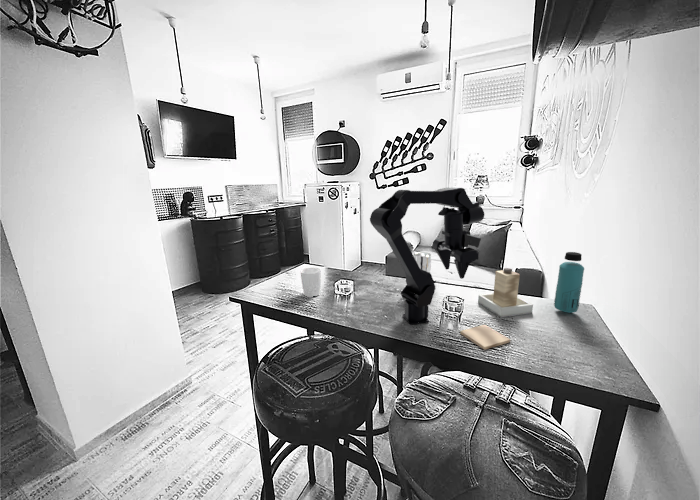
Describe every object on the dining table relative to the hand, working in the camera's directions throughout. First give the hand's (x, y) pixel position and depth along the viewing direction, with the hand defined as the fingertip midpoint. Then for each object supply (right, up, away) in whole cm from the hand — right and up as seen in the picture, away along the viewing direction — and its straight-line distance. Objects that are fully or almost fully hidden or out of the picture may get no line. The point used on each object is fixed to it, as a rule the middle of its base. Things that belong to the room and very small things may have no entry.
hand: (454, 273), depth 96 cm
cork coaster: (+3, -17, -15) cm, 23 cm away
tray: (+18, -12, +2) cm, 22 cm away
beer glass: (-6, -9, +20) cm, 23 cm away
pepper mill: (+18, -11, +2) cm, 21 cm away
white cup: (-50, -10, +20) cm, 55 cm away
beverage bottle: (+35, -13, -2) cm, 37 cm away
